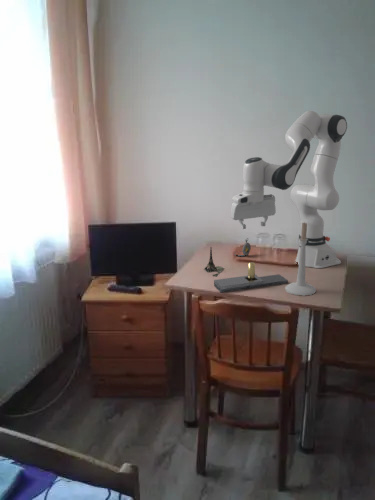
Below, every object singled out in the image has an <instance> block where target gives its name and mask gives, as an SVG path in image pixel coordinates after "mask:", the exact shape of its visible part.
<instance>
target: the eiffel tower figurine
mask: <svg viewBox="0 0 375 500" xmlns="http://www.w3.org/2000/svg"><path fill="white" fill-rule="evenodd" d="M212 248H213V247H212V246H210V251H209V252H210V253H209V259H208V263H207V264H206V266H205V268H204V269H203V270H204V271H206V273H209V274H210V273H216V274H212V277H217V276H218V275H220V274H221V272H222V271H224V270H225V268H224V267H223V266H219V265H218V266H216V264H214V260H213V253H212V252H213V251H212Z"/></svg>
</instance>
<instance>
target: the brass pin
mask: <svg viewBox="0 0 375 500" xmlns="http://www.w3.org/2000/svg"><path fill="white" fill-rule="evenodd" d="M255 275H256V263H255V262H252V261H249V262H248V265H247V276H248V281H253V280H255Z"/></svg>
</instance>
